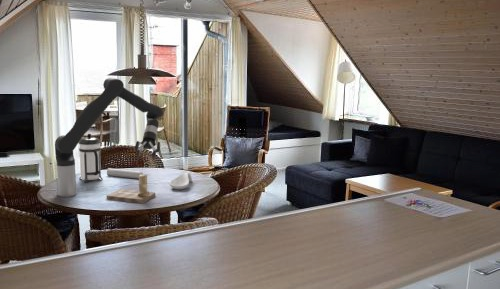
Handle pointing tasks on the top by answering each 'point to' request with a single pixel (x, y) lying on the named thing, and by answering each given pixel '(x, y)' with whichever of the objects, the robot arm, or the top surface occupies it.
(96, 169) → the coffee press
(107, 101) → the robot arm
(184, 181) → the spoon rest
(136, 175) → the tube
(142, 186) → the tan wooden column
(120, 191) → the board
